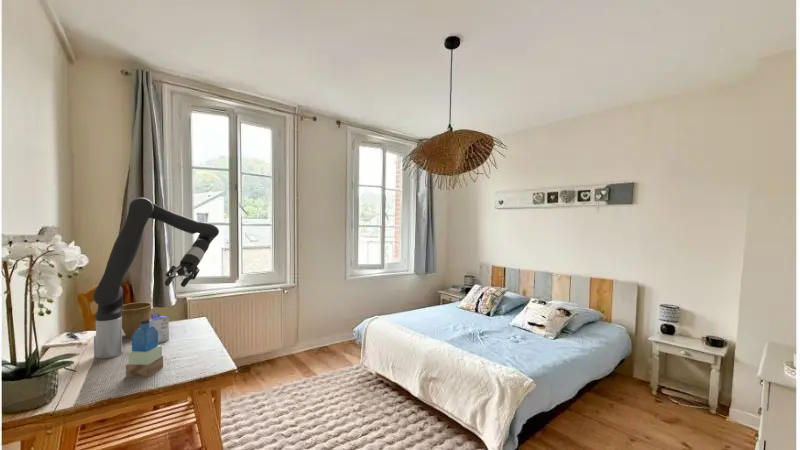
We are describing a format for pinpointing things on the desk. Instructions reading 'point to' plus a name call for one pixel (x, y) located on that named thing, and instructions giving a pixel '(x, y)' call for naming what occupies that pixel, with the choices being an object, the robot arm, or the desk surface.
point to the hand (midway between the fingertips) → (174, 285)
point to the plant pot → (134, 316)
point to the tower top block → (145, 356)
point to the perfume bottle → (144, 337)
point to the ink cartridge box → (160, 326)
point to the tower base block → (144, 369)
